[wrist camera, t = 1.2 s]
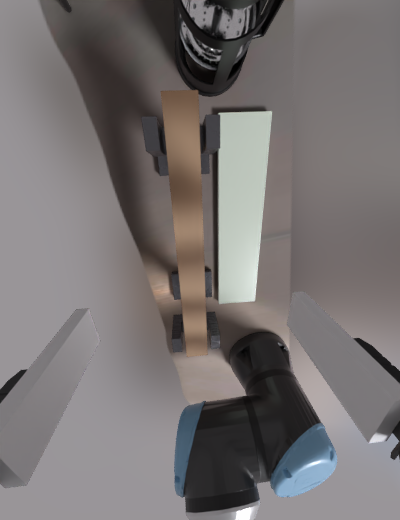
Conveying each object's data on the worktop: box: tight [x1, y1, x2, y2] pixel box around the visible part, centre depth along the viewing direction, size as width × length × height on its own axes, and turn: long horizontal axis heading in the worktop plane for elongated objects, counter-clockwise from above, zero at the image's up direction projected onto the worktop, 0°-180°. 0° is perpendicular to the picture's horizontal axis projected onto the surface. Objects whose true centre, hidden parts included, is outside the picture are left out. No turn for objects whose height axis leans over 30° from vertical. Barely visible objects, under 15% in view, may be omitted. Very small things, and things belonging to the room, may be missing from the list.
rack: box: [141, 115, 220, 352], centre depth 28 cm, size 30×8×16 cm, turn 2°
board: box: [217, 111, 272, 304], centre depth 35 cm, size 34×8×1 cm, turn 2°
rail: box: [161, 90, 208, 357], centre depth 23 cm, size 30×3×3 cm, turn 2°
